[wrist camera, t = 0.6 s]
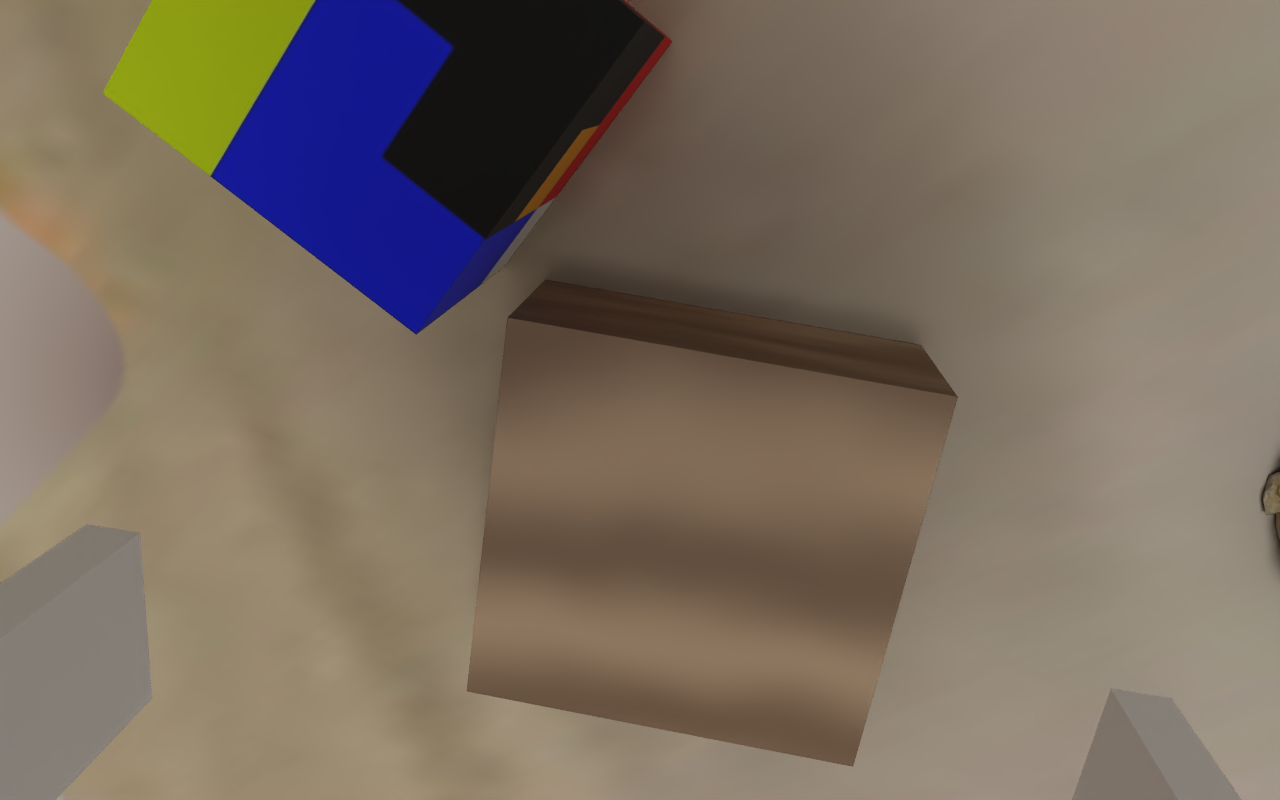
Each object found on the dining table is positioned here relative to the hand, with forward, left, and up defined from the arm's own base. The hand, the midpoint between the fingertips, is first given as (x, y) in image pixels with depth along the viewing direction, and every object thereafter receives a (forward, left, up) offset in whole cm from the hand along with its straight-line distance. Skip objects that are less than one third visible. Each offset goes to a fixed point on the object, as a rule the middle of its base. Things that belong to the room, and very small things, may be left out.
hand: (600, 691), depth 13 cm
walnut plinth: (+7, +2, -23) cm, 24 cm away
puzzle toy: (-7, -9, -23) cm, 26 cm away
